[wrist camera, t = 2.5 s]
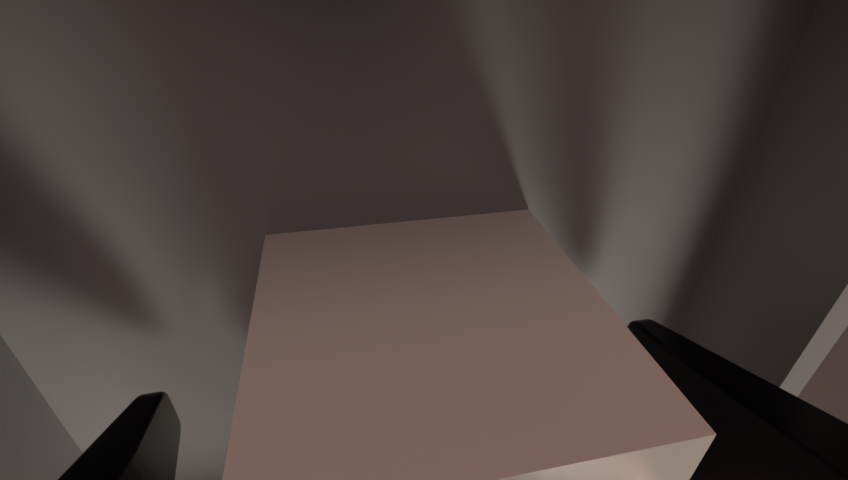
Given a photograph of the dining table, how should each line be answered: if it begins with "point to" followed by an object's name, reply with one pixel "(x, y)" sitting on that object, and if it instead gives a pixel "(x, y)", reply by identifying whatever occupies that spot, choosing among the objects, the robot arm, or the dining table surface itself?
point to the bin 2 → (831, 381)
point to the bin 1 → (398, 177)
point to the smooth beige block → (448, 363)
